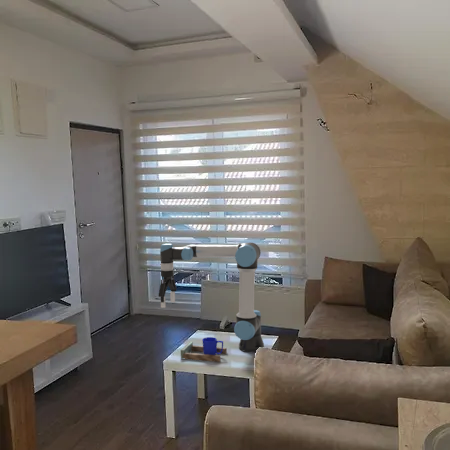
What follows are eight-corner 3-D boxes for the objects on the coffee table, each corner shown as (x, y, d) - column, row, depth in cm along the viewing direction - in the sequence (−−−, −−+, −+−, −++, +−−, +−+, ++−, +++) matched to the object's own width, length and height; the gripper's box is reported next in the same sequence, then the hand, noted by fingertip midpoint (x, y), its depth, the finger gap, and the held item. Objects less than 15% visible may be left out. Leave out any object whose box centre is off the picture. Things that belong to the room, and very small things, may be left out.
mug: (221, 359, 267) (221, 342, 266) (201, 358, 269) (200, 341, 268) (224, 354, 275) (224, 337, 274) (204, 353, 277) (204, 336, 276)
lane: (226, 352, 278) (226, 344, 277) (219, 361, 263) (219, 353, 263) (189, 349, 284) (189, 341, 283) (180, 358, 269) (180, 350, 269)
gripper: (170, 266, 294) (171, 299, 296) (151, 273, 271) (153, 309, 272) (181, 266, 292) (182, 300, 294) (163, 273, 268) (164, 310, 270)
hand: (168, 304), depth 283 cm, fingers open, 13 cm apart
